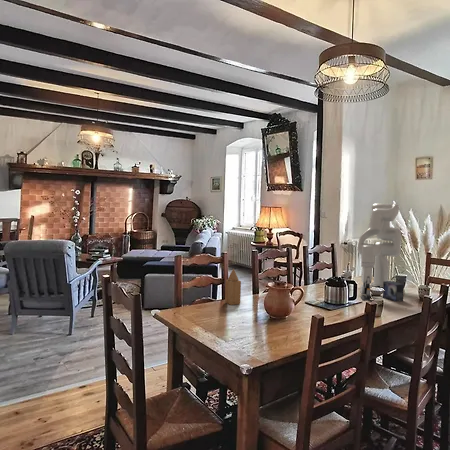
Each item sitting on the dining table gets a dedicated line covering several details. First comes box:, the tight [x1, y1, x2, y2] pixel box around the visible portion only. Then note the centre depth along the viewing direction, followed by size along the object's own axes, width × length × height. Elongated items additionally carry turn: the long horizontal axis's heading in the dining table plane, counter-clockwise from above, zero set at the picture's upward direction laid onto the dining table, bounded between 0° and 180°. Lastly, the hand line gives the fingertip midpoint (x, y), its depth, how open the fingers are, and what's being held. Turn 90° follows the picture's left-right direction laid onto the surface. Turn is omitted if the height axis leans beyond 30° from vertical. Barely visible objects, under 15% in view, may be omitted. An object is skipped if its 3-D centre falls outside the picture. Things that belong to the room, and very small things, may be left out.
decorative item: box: [224, 268, 242, 306], centre depth 216 cm, size 7×7×20 cm
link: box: [360, 284, 373, 296], centre depth 242 cm, size 6×6×5 cm
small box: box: [382, 280, 405, 303], centre depth 236 cm, size 11×6×10 cm, turn 25°
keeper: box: [360, 288, 371, 301], centre depth 234 cm, size 8×8×6 cm
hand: (366, 292), depth 242 cm, fingers closed on link, 6 cm apart
